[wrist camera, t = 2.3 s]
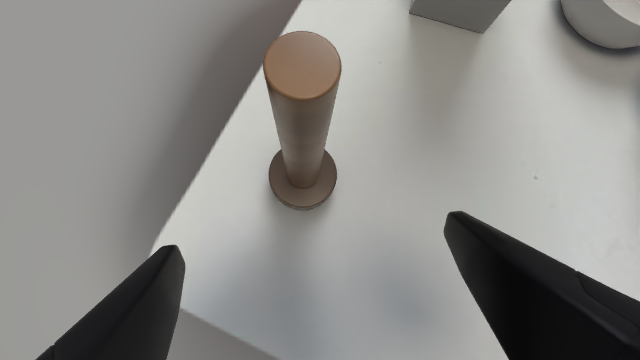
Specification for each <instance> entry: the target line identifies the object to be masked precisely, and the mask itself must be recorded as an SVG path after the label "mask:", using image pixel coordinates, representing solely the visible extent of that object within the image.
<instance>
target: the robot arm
mask: <svg viewBox="0 0 640 360" xmlns="http://www.w3.org/2000/svg"><path fill="white" fill-rule="evenodd" d="M444 236H445V239H446V241H447V243H448V246H449V248H450V250H451V253H452V255H453V257H454V260H455V262H456V264H457V266H458V269H459V271H460V273H461V275H462V277H463V279H464V281H465V283H466V285H467V286H468V288H469V290H470V292H471V293H472V295H473V297H474V299H475V300H476V302H477V304H478V306H479V307H480V309H481V311H482V313H483V315H484V316H485V318H486V320H487V322H488V323H489V325H490V327H491V329H492V330H493V332H494V334H495V336H496V338H497V339H498V341H499V343H500V345H501V346H502V348H503V350H504V352H505V353H506V355H507V357H508V359H509V360H640V302H639V301H637V300H635V299H633V298H631V297H629V296H627V295H625V294H622V293H620V292H618V291H616V290H614V289H612V288H610V287H608V286H606V285H604V284H602V283H600V282H598V281H596V280H594V279H592V278H590V277H588V276H586V275H584V274H583V273H581V272H579V271H575V270H574V269H573V268H571V267H569V266H567V265H565V264H563V263H561V262H559V261H557V260H555V259H553V258H552V257H550V256H548V255H546V254H544V253H542V252H540V251H538V250H536V249H534V248H532V247H530V246H528V245H526V244H525V243H523V242H521V241H519V240H517V239H515V238H513V237H511V236H509V235H507V234H505V233H503V232H501V231H499V230H498V229H496V228H494V227H492V226H490V225H488V224H486V223H484V222H482V221H480V220H478V219H476V218H474V217H472V216H471V215H469V214H467V213H465V212H463V211H454V212H450V213H449V214H448V215H447V219H446V223H445V227H444ZM184 275H185V262H184V259H183V257H182V255H181V252H180V250H179V248H178V246H177V245H168V246H163V247H161V248H160V249H159V250H157V251H156V252H155V253H154V254H153V255H152V256H151V257H150V258H149V259H147V260H146V261H145V262H144V263H143V264H142V265H141V266H140V267H138V268H137V269H136V270H135V271H134V272H133V273H132V274H131V275H130V276H128V277H127V278H126V279H125V280H124V281H123V282H122V283H121V284H120V285H118V286H117V287H116V288H115V289H114V290H113V291H112V292H111V293H110V294H108V295H107V296H106V297H105V298H104V299H103V300H102V301H101V302H99V303H98V304H97V305H96V306H95V307H94V308H93V309H92V310H91V311H89V312H88V313H87V314H86V315H85V316H84V317H83V318H82V319H81V320H79V322H77V323H76V324H75V325H74V326H73V327H72V328H71V329H69V330H68V331H67V332H66V333H65V334H64V335H63V336H62V337H61V338H59V339H58V340H57V341H56V342H55V344H54V345H53V346H50V347H49V348H48V349H47V350H46V351H45V352H44V353H42V354H41V355H40V356H39V357H38V358H37V359H36V360H166V359H167V355H168V351H169V348H170V344H171V340H172V337H173V333H174V329H175V326H176V322H177V318H178V313H179V307H180V301H181V294H182V288H183V281H184Z"/></svg>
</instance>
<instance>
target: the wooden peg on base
mask: <svg viewBox="0 0 640 360" xmlns="http://www.w3.org/2000/svg"><path fill="white" fill-rule="evenodd" d="M263 70H264V75H265V79H266V84H267V88H268V93H269V97H270V101H271V106H272V110H273V115H274V119H275V123H276V128H277V132H278V137H279V141H280V145H281V150H280V151H278V153H277V154H276V155H275V156H274V158H273V160H272V161H271V164H270V168H269V182H270V185H271V188H272V190H273V192H274V193H275V195H276V196H277V198H278V199H279V200H280V201H281V202H282V203H283V204H285V205H287V206H289V207H291V208H294V209H299V210H306V209H312V208H315V207H317V206H319V205H321V204H322V203H323V202H324V201H326V200H327V198H328V197H329V196H330V194H331V193H332V191H333V189H334V187H335V184H336V179H337V171H336V166H335V163H334V160H333V159H332V157H331V156H330V154H329V153H328V152H327V151H326V150H325V149H324V148H325V144H326V139H327V135H328V130H329V126H330V121H331V117H332V112H333V108H334V103H335V98H336V94H337V89H338V85H339V80H340V76H341V60H340V57H339V54H338V52H337V50H336V49H335V47H334V46H333V45H332V44H331V43H330V42H329V41H328V40H327V39H325V38H324V37H322V36H320V35H318V34H315V33H312V32H307V31H296V32H291V33H287V34H285V35H283V36H281V37H279V38H278V39H276V40H275V41H274V42H273V43H272V44H271V46H270V47H269V49H268V50H267V52H266V54H265V57H264V61H263Z"/></svg>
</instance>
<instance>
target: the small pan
mask: <svg viewBox="0 0 640 360" xmlns="http://www.w3.org/2000/svg"><path fill="white" fill-rule="evenodd" d="M561 5H562V9H563V12H564V15H565V17H566V19H567V20H568V22H569V23H570V25H571V26H572V27H573V28H574V29H575V30H576V31H577V32H578V33H579V34H580V35H581V36H583V37H584V38H585V39H587V40H589V41H590V42H592V43H594V44H597V45H599V46H602V47H606V48H611V49H624V48H629V47H636V46H640V0H561Z"/></svg>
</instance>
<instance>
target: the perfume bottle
mask: <svg viewBox="0 0 640 360" xmlns="http://www.w3.org/2000/svg"><path fill="white" fill-rule="evenodd" d="M510 1H511V0H412V3H411V7H410V11H409V13H412V14H415V15H419V16H423V17H426V18H430V19H433V20H437V21H440V22H444V23H447V24H451V25H454V26H458V27H461V28H465V29H468V30H472V31H475V32H479V33H484V32H485V31H486V30H487V28H488V27H489V26H490V25H491V24H492V22H493V21H494V20H495V19H496V18H497V17H498V15H499V14H500V13H501V12H502V11H503V9H504V8H505V7H506V6H507V5H508V4H509V2H510Z"/></svg>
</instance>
